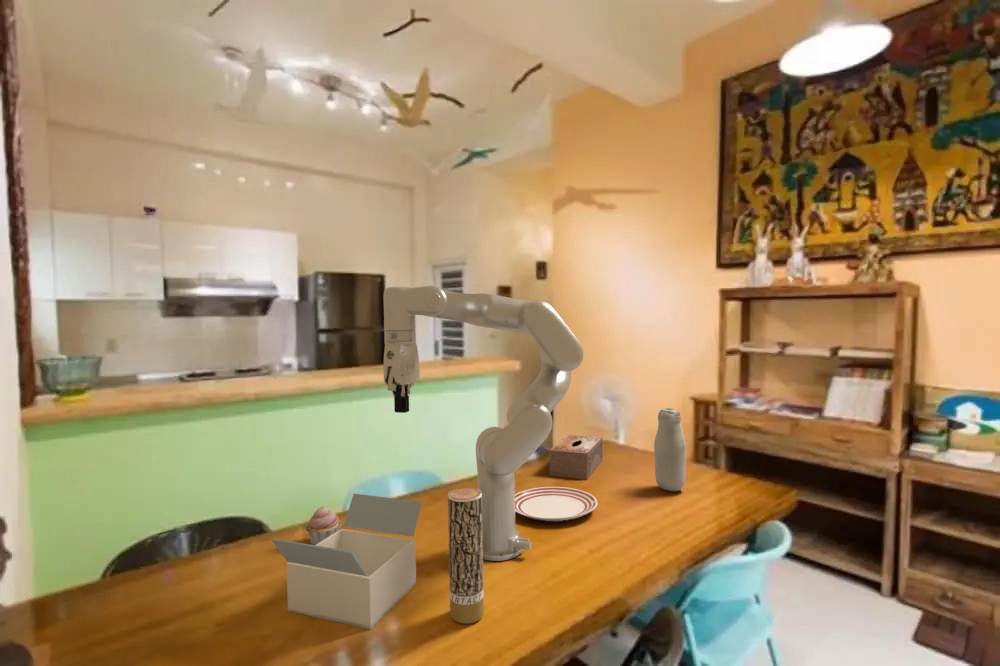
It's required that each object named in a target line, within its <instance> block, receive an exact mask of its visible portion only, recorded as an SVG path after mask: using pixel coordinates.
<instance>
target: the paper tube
mask: <svg viewBox="0 0 1000 666" xmlns="http://www.w3.org/2000/svg"><path fill="white" fill-rule="evenodd" d="M447 511H448V512H447V516H448V517H447V519H448V563H449V565H448V566H449V569H448V571H449V572H448V573H449V610H450V612H449V613H450V617H451V618H452V619H451V620H453V621H454V622H456V623H459V624H462V625H467V624H473V623H476V622H478V621H480V620H481V619H482V617H483V616H484V614H485V613H484V612H485V603H484V597H485V595H484V593H485V591H484V589H485V588H484V587H485V586H484V559H483V528H482V492H481V491H480V490H479V489H478V488H475V487H458V488H454V489H451V490H450V491H449V492H448V493H447Z"/></svg>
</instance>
